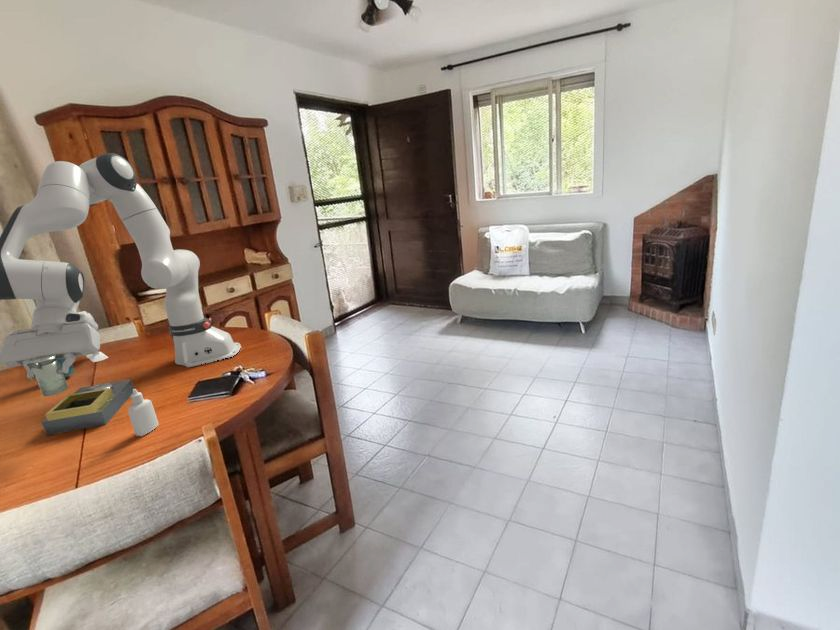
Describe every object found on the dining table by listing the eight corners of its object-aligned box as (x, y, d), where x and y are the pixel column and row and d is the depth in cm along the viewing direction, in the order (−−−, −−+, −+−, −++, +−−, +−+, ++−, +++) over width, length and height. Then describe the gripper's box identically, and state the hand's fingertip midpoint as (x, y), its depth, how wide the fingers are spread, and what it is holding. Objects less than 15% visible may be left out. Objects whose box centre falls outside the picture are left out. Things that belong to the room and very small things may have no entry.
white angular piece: (110, 358, 162) (95, 314, 156) (94, 363, 159) (78, 318, 153) (99, 350, 172) (84, 308, 166) (84, 354, 168) (68, 312, 163)
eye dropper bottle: (133, 432, 109) (119, 391, 105) (157, 422, 113) (144, 382, 109) (138, 438, 106) (123, 396, 102) (162, 428, 110) (149, 387, 106)
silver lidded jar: (72, 384, 108) (59, 350, 105) (58, 397, 101) (44, 361, 98) (49, 388, 107) (35, 354, 104) (33, 401, 100) (18, 365, 97)
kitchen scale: (84, 399, 130) (78, 381, 128) (134, 390, 133) (129, 373, 131) (46, 435, 112) (38, 415, 110) (105, 424, 114) (98, 405, 112)
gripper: (-3, 327, 103) (-14, 379, 98) (92, 313, 108) (87, 363, 102) (15, 337, 109) (6, 388, 103) (105, 324, 114) (101, 372, 108)
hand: (47, 375), depth 103 cm, fingers closed on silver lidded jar, 5 cm apart
